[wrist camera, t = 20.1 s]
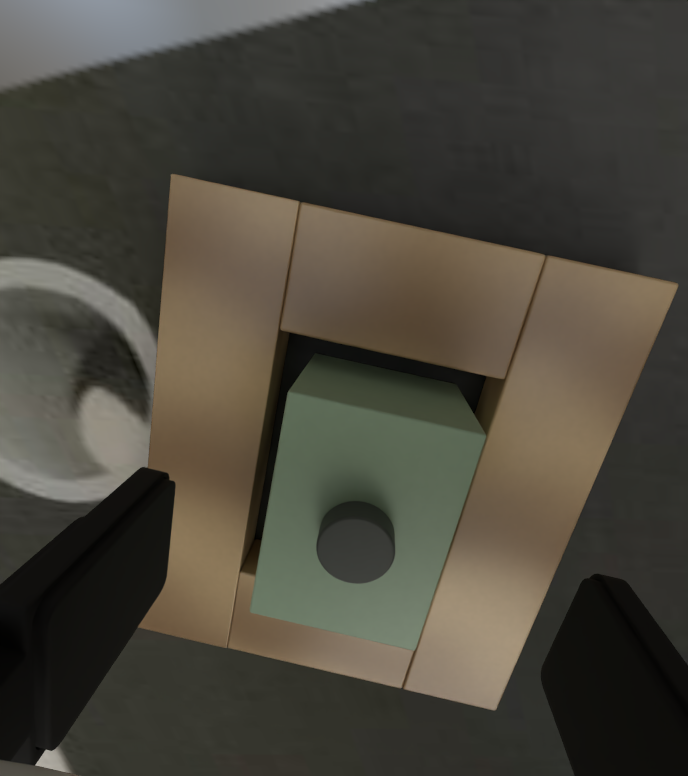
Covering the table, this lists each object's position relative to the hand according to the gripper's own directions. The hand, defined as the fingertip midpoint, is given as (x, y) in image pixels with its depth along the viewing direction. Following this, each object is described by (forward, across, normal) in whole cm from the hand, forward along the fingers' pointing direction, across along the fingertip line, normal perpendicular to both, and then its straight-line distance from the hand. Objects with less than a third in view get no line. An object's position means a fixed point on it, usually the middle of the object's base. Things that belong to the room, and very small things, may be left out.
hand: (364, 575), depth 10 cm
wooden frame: (+6, 0, 0) cm, 6 cm away
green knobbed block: (+6, 0, 0) cm, 6 cm away
